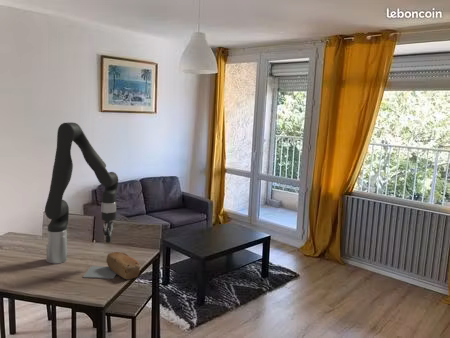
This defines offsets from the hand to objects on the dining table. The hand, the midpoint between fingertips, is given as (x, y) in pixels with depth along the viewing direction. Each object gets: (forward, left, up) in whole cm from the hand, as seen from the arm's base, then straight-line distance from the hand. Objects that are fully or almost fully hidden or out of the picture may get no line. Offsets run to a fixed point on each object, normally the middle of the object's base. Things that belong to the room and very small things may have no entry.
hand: (108, 242), depth 198 cm
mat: (-1, -9, -13) cm, 16 cm away
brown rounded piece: (+3, 0, -8) cm, 9 cm away
